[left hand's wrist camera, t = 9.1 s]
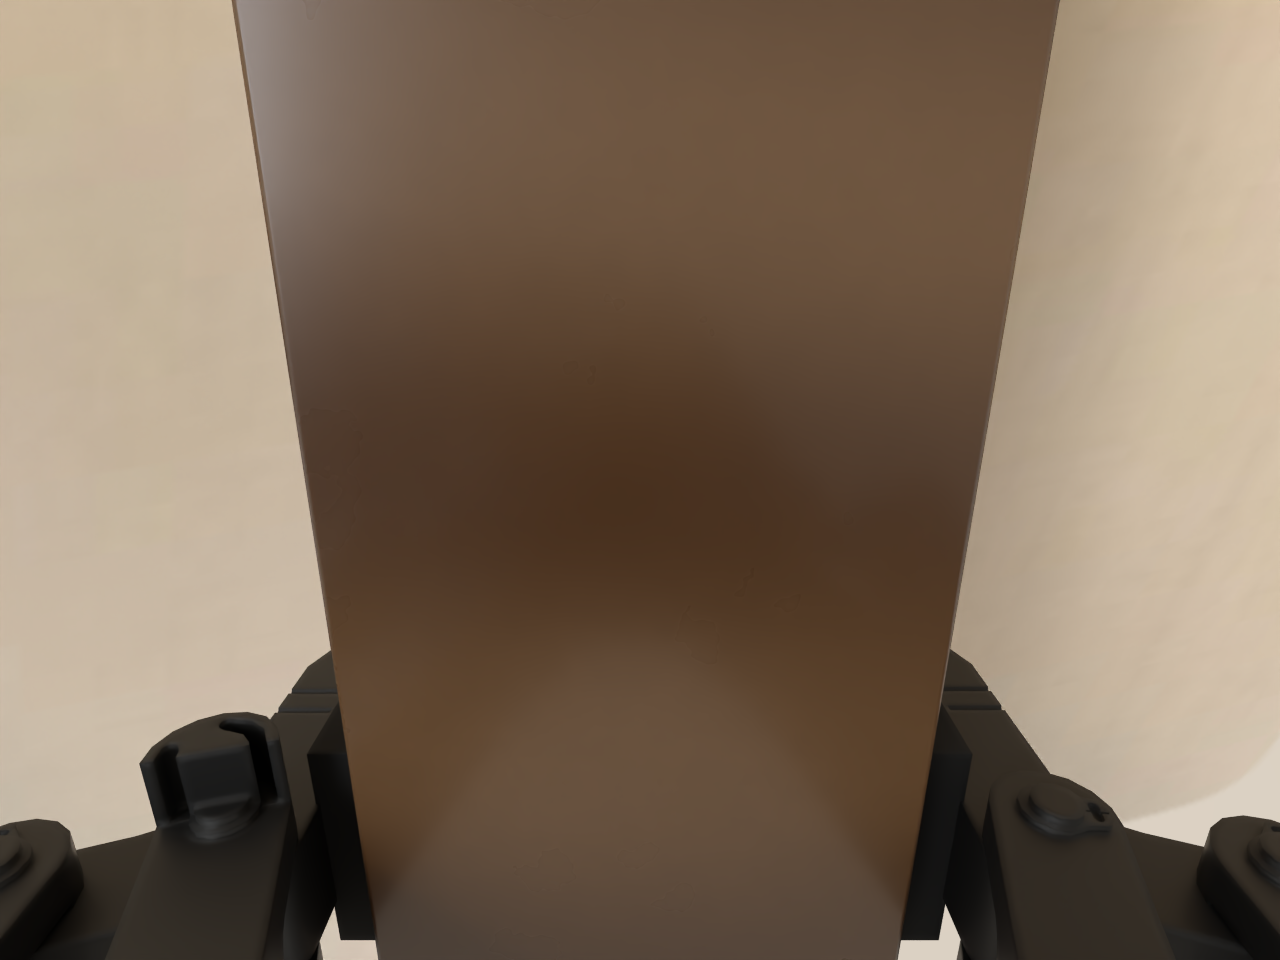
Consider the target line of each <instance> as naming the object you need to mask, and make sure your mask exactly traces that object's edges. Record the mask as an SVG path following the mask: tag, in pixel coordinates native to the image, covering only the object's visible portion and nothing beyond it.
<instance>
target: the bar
mask: <svg viewBox="0 0 1280 960" xmlns="http://www.w3.org/2000/svg"><path fill="white" fill-rule="evenodd" d="M1059 1H1060V0H232V6H233V12H234V19H235V25H236V32H237V38H238V45H239V51H240V58H241V64H242V71H243V78H244V84H245V91H246V97H247V104H248V110H249V117H250V123H251V130H252V136H253V143H254V149H255V156H256V163H257V169H258V176H259V182H260V189H261V195H262V202H263V208H264V215H265V221H266V228H267V234H268V241H269V247H270V254H271V261H272V267H273V274H274V280H275V287H276V293H277V300H278V306H279V313H280V319H281V326H282V332H283V339H284V346H285V352H286V359H287V365H288V372H289V378H290V385H291V391H292V398H293V404H294V411H295V417H296V424H297V430H298V437H299V444H300V450H301V457H302V463H303V470H304V476H305V483H306V489H307V496H308V502H309V509H310V515H311V522H312V529H313V535H314V542H315V548H316V555H317V561H318V568H319V574H320V581H321V587H322V594H323V600H324V607H325V614H326V620H327V627H328V633H329V640H330V646H331V653H332V659H333V666H334V672H335V679H336V685H337V692H338V698H339V705H340V712H341V718H342V725H343V731H344V738H345V744H346V751H347V757H348V764H349V770H350V777H351V783H352V790H353V797H354V803H355V810H356V816H357V823H358V829H359V836H360V842H361V849H362V855H363V862H364V868H365V875H366V881H367V888H368V895H369V901H370V908H371V914H372V921H373V927H374V934H375V940H376V947H377V953H378V960H898V954H899V948H900V942H901V936H902V930H903V924H904V918H905V913H906V907H907V901H908V895H909V889H910V883H911V877H912V871H913V865H914V859H915V853H916V847H917V842H918V836H919V830H920V824H921V818H922V812H923V806H924V800H925V794H926V788H927V782H928V776H929V770H930V765H931V759H932V753H933V747H934V741H935V735H936V729H937V723H938V717H939V711H940V705H941V699H942V694H943V688H944V682H945V676H946V670H947V664H948V658H949V652H950V646H951V640H952V634H953V628H954V622H955V617H956V611H957V605H958V599H959V593H960V587H961V581H962V575H963V569H964V563H965V557H966V551H967V546H968V540H969V534H970V528H971V522H972V516H973V510H974V504H975V498H976V492H977V486H978V480H979V474H980V469H981V463H982V457H983V451H984V445H985V439H986V433H987V427H988V421H989V415H990V409H991V403H992V398H993V392H994V386H995V380H996V374H997V368H998V362H999V356H1000V350H1001V344H1002V338H1003V332H1004V326H1005V321H1006V315H1007V309H1008V303H1009V297H1010V291H1011V285H1012V279H1013V273H1014V267H1015V261H1016V255H1017V249H1018V244H1019V238H1020V232H1021V226H1022V220H1023V214H1024V208H1025V202H1026V196H1027V190H1028V184H1029V178H1030V173H1031V167H1032V161H1033V155H1034V149H1035V143H1036V137H1037V131H1038V125H1039V119H1040V113H1041V107H1042V101H1043V96H1044V90H1045V84H1046V78H1047V72H1048V66H1049V60H1050V54H1051V48H1052V42H1053V36H1054V30H1055V25H1056V19H1057V13H1058V7H1059Z"/></svg>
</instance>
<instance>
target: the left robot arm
mask: <svg viewBox="0 0 1280 960" xmlns="http://www.w3.org/2000/svg"><path fill="white" fill-rule="evenodd" d="M140 768H141V771H142V775H143V779H144V782H145V786H146V789H147V793H148V797H149V800H150V804H151V808H152V811H153V815H154V818H155V822H156V826H157V828H156V830H155V831H152V832H149V833H145V834H142V835H139V836H135V837H131V838H126V839H122V840H118V841H113V842H109V843H105V844H101V845H96V846H92V847H88V848H83V849H79V850H76V849H75V846H74V842H73V839H72V836H71V833H70V831H69V830H68V829H67V828H65V827H64V826H63V825H62V824H60V823H59V822H58V821H50V820H42V819H33V820H27V821H20V822H14V823H9V824H6V825H3V826H0V960H323V956H322V951H321V946H320V939H321V936H322V934H323V932H324V929H325V927H326V925H327V923H328V920H329V918H330V916H331V913H332V911H333V909H334V906H335V912H336V917H337V922H338V928H339V933H340V939H341V940H375V934H374V927H373V921H372V914H371V908H370V901H369V895H368V888H367V881H366V875H365V868H364V862H363V855H362V849H361V842H360V836H359V829H358V823H357V816H356V810H355V803H354V797H353V790H352V783H351V777H350V770H349V764H348V757H347V751H346V744H345V738H344V731H343V725H342V718H341V712H340V705H339V698H338V692H337V685H336V679H335V672H334V666H333V659H332V653H331V651H329V652H328V653H327V654H325V655H324V656H322V657H321V658H320V659H318V660H317V661H315V662H314V663H312V664H311V665H310V666H308V667H307V669H306V670H305V672H304V673H303V674H302V676H301V677H300V679H299V680H298V681H297V683H296V684H295V686H294V687H293V688H292V693H291V694H288V695H287V697H286V698H285V700H284V701H283V702H282V704H281V705H280V707H279V710H278V713H275V714H274V715H273V716H272V718H271V719H269V718H267V717H266V716H262V715H258V714H254V713H249V712H240V713H223V714H220V715H216V716H212V717H208V718H204V719H200V720H197V721H195V722H193V723H191V724H188V725H186V726H184V727H182V728H180V729H178V730H175V731H173V732H172V733H170V734H169V735H168V736H166V737H165V738H164V739H162V740H161V741H160V742H158V743H157V744H155V745H154V746H153V747H152V748H151V749H150V750H149V752H148V753H147V754H146V756H145V757H144V758H143V760H142V761H141V762H140ZM945 904H946V906H947V909H948V911H949V913H950V916H951V918H952V920H953V922H954V925H955V927H956V929H957V932H958V934H959V936H960V939H961V941H960V946H959V951H958V956H957V960H1280V823H1278V822H1276V821H1273V820H1269V819H1262V818H1256V817H1250V816H1236V817H1228V818H1222V819H1221V820H1220V821H1218V822H1217V823H1216V824H1214V825H1213V826H1212V827H1211V828H1210V831H1209V834H1208V837H1207V840H1206V843H1205V846H1204V847H1202V846H1197V845H1193V844H1189V843H1184V842H1180V841H1176V840H1171V839H1167V838H1163V837H1159V836H1154V835H1150V834H1145V833H1142V832H1138V831H1135V830H1132V829H1128V828H1125V827H1124V826H1123V825H1122V823H1121V821H1120V820H1119V818H1118V817H1117V815H1116V814H1115V812H1114V811H1113V809H1112V808H1111V807H1110V806H1109V805H1108V804H1106V803H1105V802H1104V801H1103V800H1102V799H1100V798H1099V797H1098V796H1097V795H1096V794H1094V793H1093V792H1092V791H1090V790H1088V789H1086V788H1084V787H1082V786H1080V785H1079V784H1077V783H1075V782H1073V781H1071V780H1069V779H1066V778H1063V777H1059V776H1056V775H1053V774H1050V773H1049V771H1048V770H1047V769H1046V767H1045V766H1044V764H1043V763H1042V762H1041V760H1040V759H1039V757H1038V756H1037V755H1036V753H1035V752H1034V750H1033V749H1032V748H1031V746H1030V745H1029V743H1028V742H1027V741H1026V739H1025V738H1024V736H1023V735H1022V734H1021V732H1020V731H1019V730H1018V728H1017V727H1016V725H1015V724H1014V723H1013V721H1012V720H1011V718H1010V717H1009V716H1008V714H1007V713H1006V711H1005V710H1002V709H1001V704H1000V703H999V702H998V700H997V699H996V697H995V696H994V695H993V693H992V692H991V691H988V686H987V685H986V684H985V682H984V681H983V679H982V678H981V677H980V675H979V674H978V672H977V671H976V670H975V668H974V667H973V665H972V664H971V663H969V662H968V661H966V660H965V659H963V658H962V657H961V656H959V655H958V654H956V653H955V652H954V651H952V650H951V649H950V652H949V658H948V664H947V670H946V676H945V682H944V688H943V694H942V699H941V705H940V711H939V717H938V723H937V729H936V735H935V741H934V747H933V753H932V759H931V765H930V770H929V776H928V782H927V788H926V794H925V800H924V806H923V812H922V818H921V824H920V830H919V836H918V842H917V847H916V853H915V859H914V865H913V871H912V877H911V883H910V889H909V895H908V901H907V907H906V913H905V918H904V924H903V930H902V936H901V940H939V935H940V930H941V924H942V919H943V913H944V908H945Z"/></svg>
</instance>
